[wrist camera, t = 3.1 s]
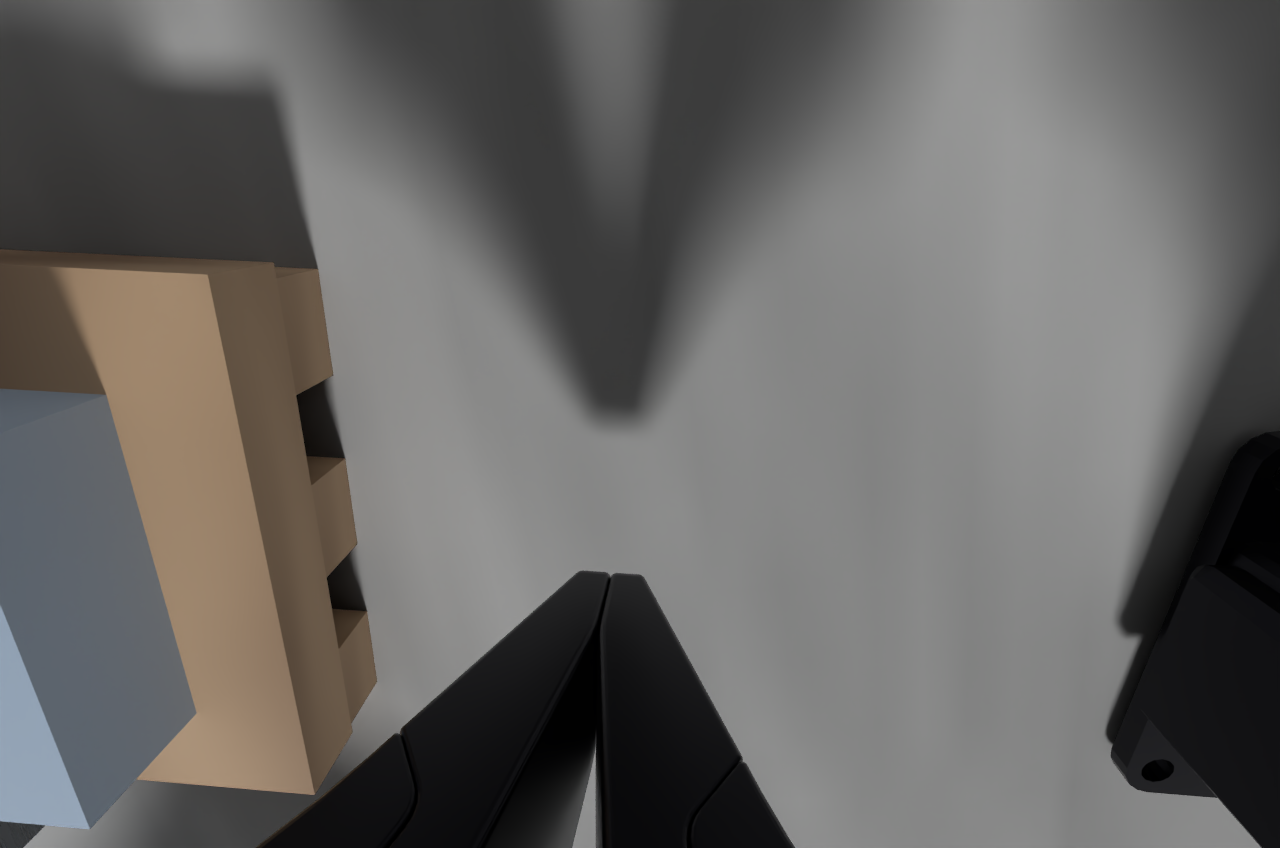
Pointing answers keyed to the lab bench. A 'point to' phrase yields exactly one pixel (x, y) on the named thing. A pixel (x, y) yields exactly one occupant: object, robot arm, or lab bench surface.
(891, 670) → the lab bench surface
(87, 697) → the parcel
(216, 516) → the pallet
